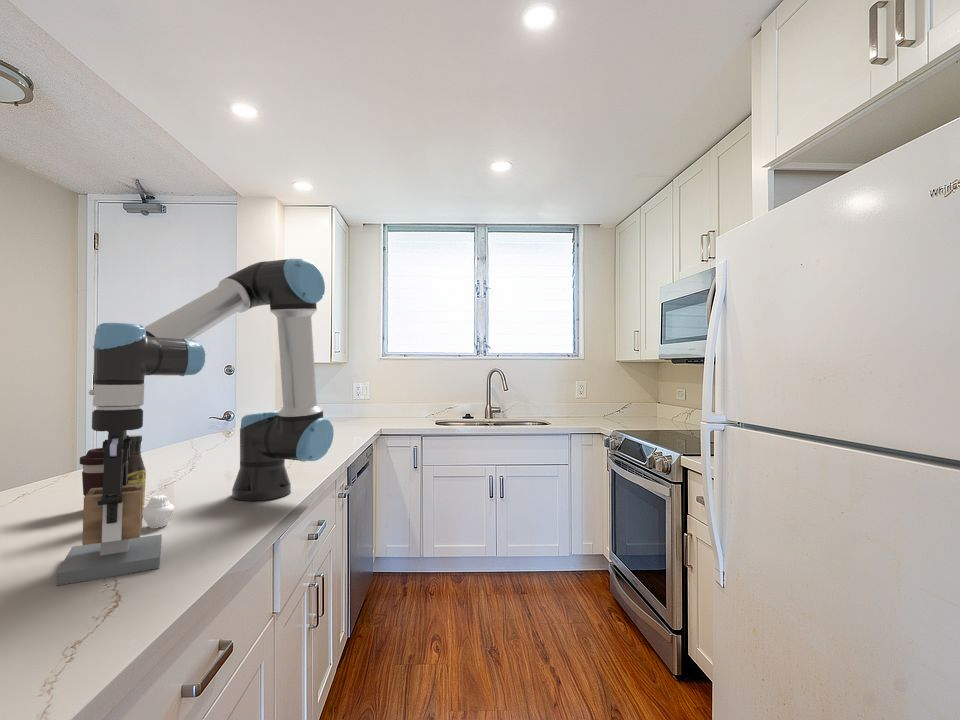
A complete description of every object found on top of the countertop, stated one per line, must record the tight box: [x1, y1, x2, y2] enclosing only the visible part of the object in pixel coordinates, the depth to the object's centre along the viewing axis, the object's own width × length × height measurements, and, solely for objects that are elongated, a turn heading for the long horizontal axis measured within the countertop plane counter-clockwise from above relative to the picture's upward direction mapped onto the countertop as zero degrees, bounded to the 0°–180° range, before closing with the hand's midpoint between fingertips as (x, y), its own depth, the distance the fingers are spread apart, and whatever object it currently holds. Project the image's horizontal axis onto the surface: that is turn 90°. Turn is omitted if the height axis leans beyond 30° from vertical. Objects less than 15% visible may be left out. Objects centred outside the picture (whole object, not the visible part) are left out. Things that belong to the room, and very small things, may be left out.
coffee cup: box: [79, 447, 104, 497], centre depth 123 cm, size 10×10×15 cm
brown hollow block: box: [81, 484, 143, 545], centre depth 89 cm, size 8×8×8 cm
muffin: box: [142, 494, 175, 529], centre depth 110 cm, size 6×6×7 cm
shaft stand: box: [55, 533, 163, 587], centre depth 89 cm, size 14×14×8 cm
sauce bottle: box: [127, 434, 147, 520], centre depth 113 cm, size 6×6×20 cm
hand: (114, 533), depth 89 cm, fingers closed on brown hollow block, 8 cm apart
